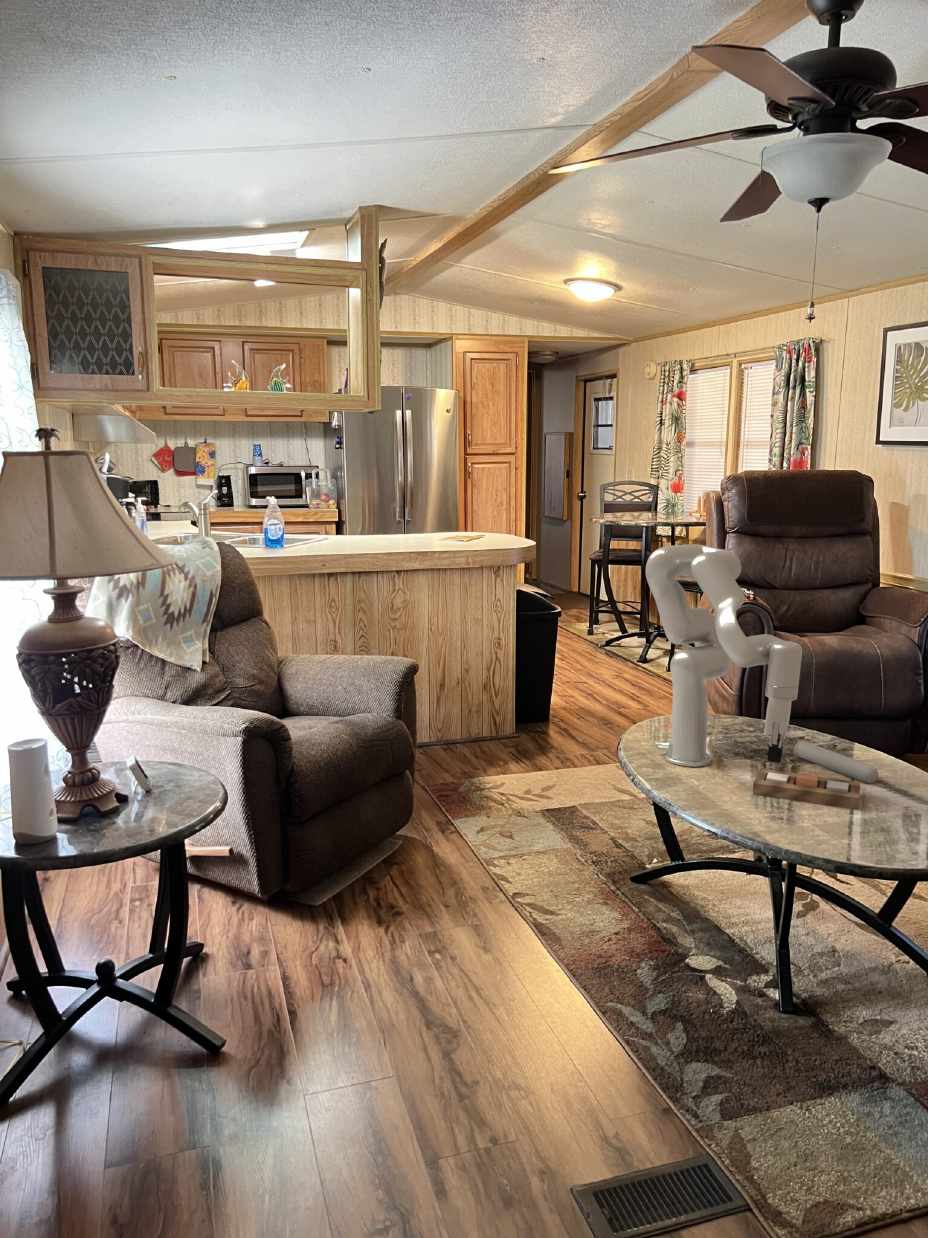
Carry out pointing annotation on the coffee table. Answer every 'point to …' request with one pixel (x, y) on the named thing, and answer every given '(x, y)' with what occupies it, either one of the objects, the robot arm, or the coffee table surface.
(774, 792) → the wooden tray
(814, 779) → the key mid
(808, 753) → the tube
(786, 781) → the key left
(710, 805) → the coffee table surface
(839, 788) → the key right
